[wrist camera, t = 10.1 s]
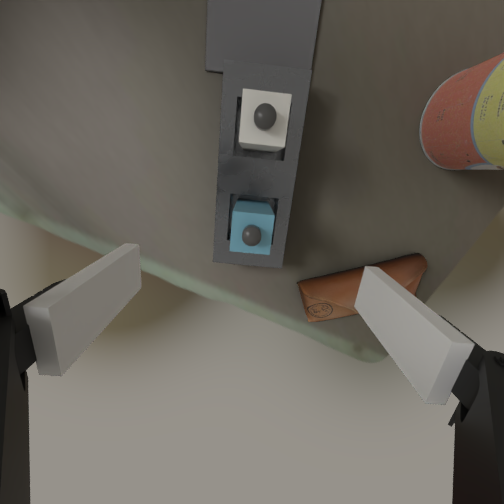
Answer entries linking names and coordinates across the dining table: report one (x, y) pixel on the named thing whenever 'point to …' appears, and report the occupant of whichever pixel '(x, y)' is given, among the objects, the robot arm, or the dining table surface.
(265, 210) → the plug
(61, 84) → the dining table surface
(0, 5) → the dining table surface
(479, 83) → the canned food
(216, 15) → the mat
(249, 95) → the white knobbed block
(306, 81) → the strip
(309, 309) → the sunglasses case
